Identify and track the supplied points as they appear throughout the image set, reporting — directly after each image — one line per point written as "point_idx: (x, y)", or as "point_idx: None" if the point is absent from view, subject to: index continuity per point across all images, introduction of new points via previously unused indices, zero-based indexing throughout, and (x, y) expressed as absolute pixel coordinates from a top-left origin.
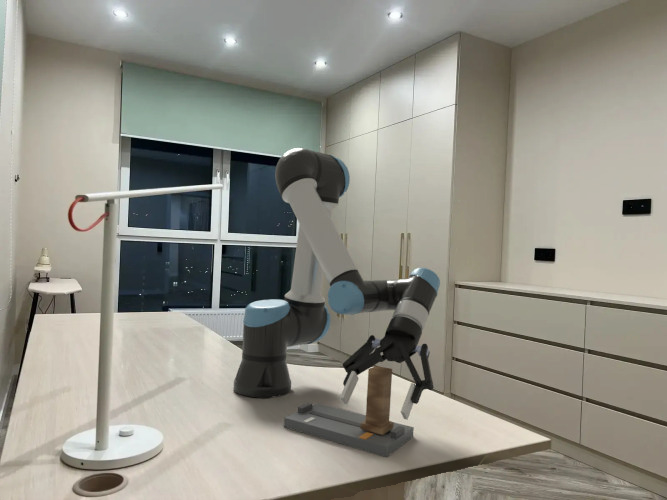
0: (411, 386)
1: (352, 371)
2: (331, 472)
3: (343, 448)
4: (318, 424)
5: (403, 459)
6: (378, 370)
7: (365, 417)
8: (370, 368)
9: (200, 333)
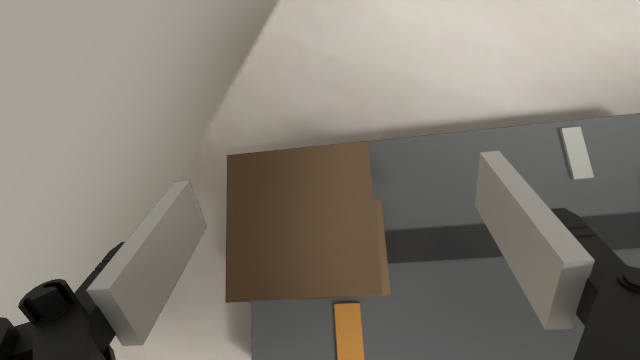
0: (113, 270)
1: (583, 256)
2: (322, 15)
3: (383, 135)
4: (521, 147)
5: (223, 189)
6: (286, 164)
7: (449, 343)
8: (367, 169)
9: None
